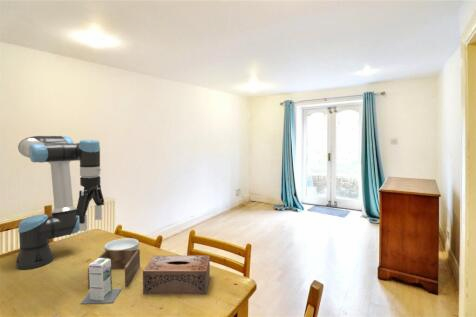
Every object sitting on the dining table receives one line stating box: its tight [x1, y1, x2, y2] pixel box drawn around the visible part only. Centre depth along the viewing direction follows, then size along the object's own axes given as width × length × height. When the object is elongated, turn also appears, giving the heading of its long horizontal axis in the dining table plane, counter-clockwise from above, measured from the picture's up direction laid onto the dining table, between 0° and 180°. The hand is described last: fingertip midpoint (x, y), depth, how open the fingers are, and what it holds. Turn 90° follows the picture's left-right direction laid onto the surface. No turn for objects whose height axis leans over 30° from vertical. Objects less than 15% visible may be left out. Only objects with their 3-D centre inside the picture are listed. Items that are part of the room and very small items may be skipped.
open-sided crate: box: [87, 248, 141, 290], centre depth 120 cm, size 16×18×9 cm
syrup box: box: [88, 257, 113, 301], centre depth 105 cm, size 6×6×14 cm
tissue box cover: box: [142, 254, 211, 295], centre depth 114 cm, size 26×14×10 cm, turn 91°
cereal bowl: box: [104, 237, 140, 251], centre depth 142 cm, size 17×17×7 cm
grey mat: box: [79, 288, 122, 305], centre depth 105 cm, size 12×9×1 cm
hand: (91, 224), depth 114 cm, fingers open, 13 cm apart
